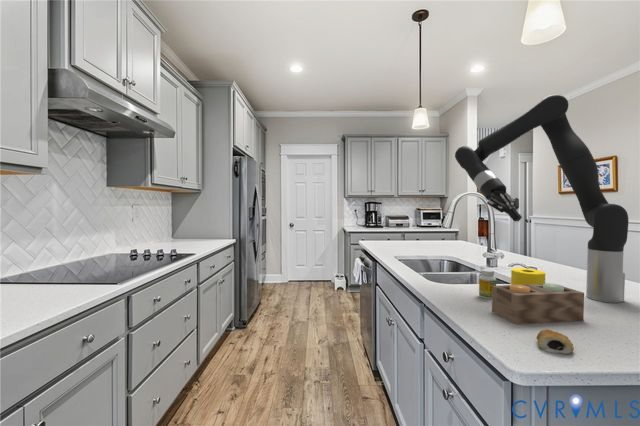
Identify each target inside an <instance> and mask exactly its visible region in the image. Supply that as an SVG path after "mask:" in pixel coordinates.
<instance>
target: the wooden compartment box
mask: <svg viewBox="0 0 640 426" xmlns="http://www.w3.org/2000/svg"><path fill="white" fill-rule="evenodd" d="M510 285H511V284H508V285H507V284H506V285H496V286H492V299H491V313H494V314H496V315H498V316H500V317H501V318H504V319H505V320H507V321H509V322H511V323H513V324H516V325H524V324H525V325H526V324H544V323H545V324H546V323H547V324H548V323H563V322H564V323H565V322H566V323H567V322H581V321H582V322H583V321H585V320H584V319H585V318H584V316H585V313H584V311H585V293H584V292H582V291H579V290H576V289H573V288H569V287H565V286H564V291H559V292H552V291H549V290H546V289H543V284H532V285H524V286H528V287H530V293H517V292H514V291H511V290H510Z"/></svg>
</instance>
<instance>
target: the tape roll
mask: <svg viewBox="0 0 640 426" xmlns="http://www.w3.org/2000/svg"><path fill="white" fill-rule="evenodd" d="M510 274H511V276H510V279H511V280H510V285H513V284H516V285H532V284H546V272H545V271H542V270H539V269H536V268H535V269H534V268H523V267H515V268H511V273H510Z"/></svg>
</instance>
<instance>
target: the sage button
mask: <svg viewBox="0 0 640 426" xmlns="http://www.w3.org/2000/svg"><path fill="white" fill-rule="evenodd" d="M564 287H565V286H564V285H561V284H556V283H546V282H545V284H543V289H546V290H549V291H552V292H559V291H564Z"/></svg>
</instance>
